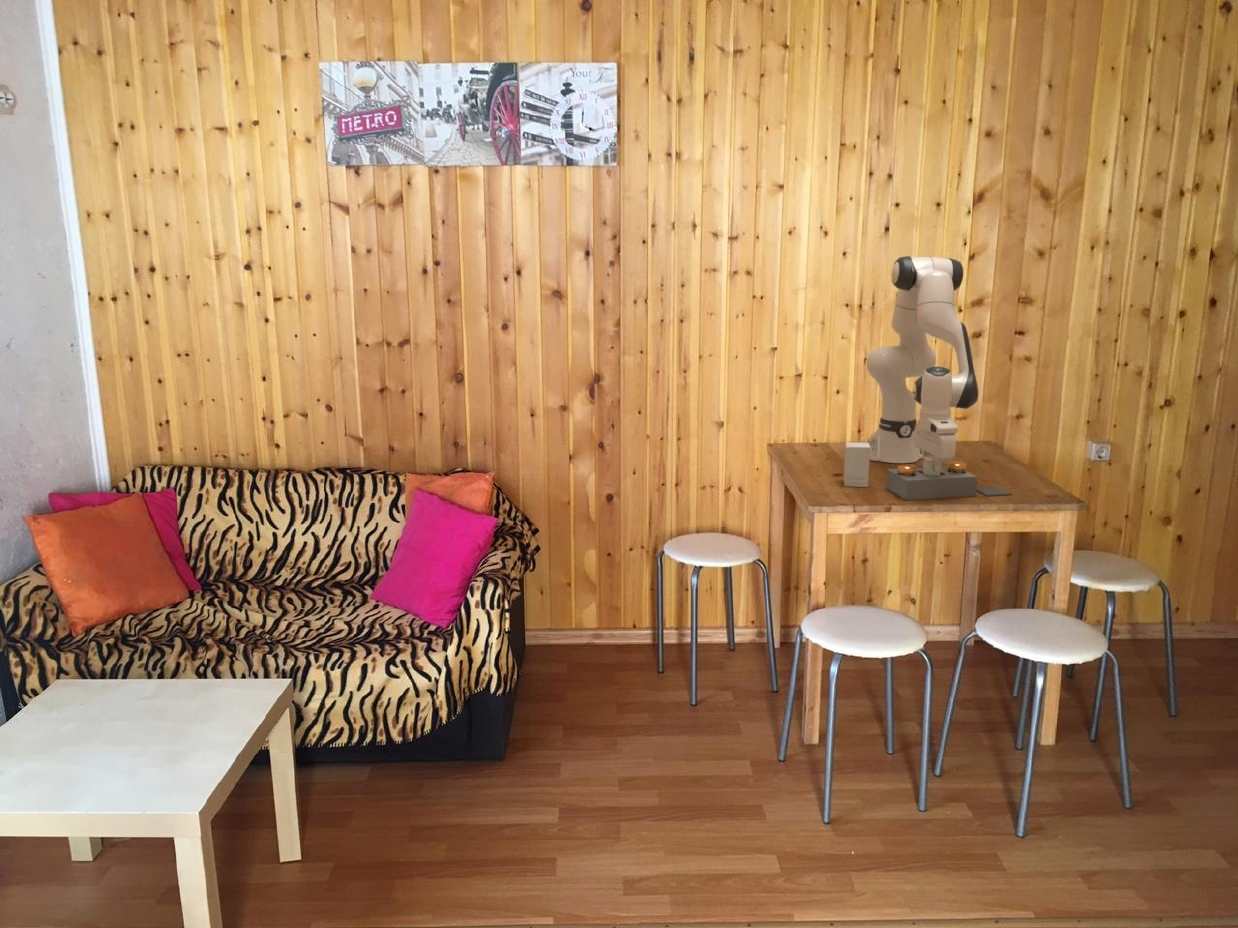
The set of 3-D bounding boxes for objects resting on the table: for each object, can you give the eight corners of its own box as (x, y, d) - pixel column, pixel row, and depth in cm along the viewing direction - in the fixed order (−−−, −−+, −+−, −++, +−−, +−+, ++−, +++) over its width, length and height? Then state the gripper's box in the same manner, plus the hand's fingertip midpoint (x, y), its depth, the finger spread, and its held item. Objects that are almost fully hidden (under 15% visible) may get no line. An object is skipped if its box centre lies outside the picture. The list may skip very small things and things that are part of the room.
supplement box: (868, 487, 312) (870, 447, 309) (843, 486, 313) (845, 446, 310) (867, 481, 319) (869, 442, 316) (843, 480, 320) (845, 441, 317)
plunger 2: (943, 485, 308) (944, 461, 307) (959, 484, 309) (960, 460, 307) (951, 489, 303) (953, 465, 302) (967, 488, 304) (969, 464, 302)
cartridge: (918, 490, 307) (920, 455, 305) (934, 489, 308) (936, 454, 305) (926, 494, 302) (928, 459, 300) (942, 493, 303) (944, 458, 301)
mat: (973, 489, 307) (973, 488, 307) (998, 488, 309) (998, 486, 308) (987, 496, 300) (987, 495, 300) (1012, 494, 301) (1012, 493, 301)
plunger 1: (893, 488, 306) (895, 464, 304) (910, 487, 307) (911, 463, 305) (901, 493, 301) (902, 468, 299) (917, 492, 302) (919, 467, 300)
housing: (886, 488, 310) (887, 469, 309) (953, 484, 314) (954, 465, 312) (906, 500, 297) (907, 480, 295) (976, 496, 300) (977, 476, 299)
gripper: (909, 416, 310) (907, 460, 313) (940, 429, 290) (937, 476, 293) (928, 415, 311) (926, 459, 314) (961, 428, 291) (958, 475, 294)
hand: (932, 467), depth 303 cm, fingers closed on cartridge, 5 cm apart
